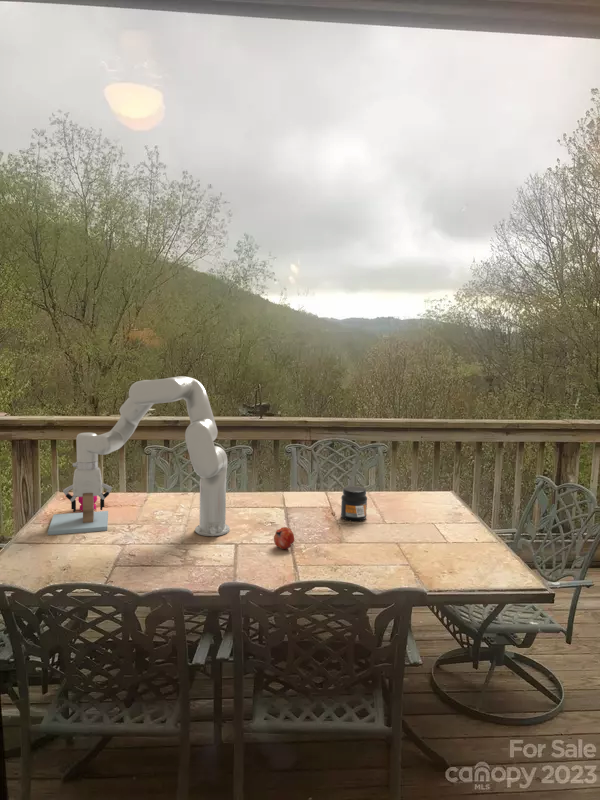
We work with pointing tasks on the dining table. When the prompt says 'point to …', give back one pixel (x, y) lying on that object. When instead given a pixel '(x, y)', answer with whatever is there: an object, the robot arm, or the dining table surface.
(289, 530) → the pomegranate
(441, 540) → the dining table surface
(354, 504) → the supplement container
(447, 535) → the dining table surface
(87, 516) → the walnut slab
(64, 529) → the board
